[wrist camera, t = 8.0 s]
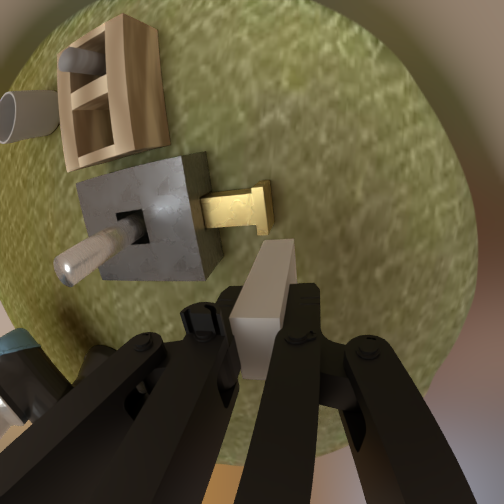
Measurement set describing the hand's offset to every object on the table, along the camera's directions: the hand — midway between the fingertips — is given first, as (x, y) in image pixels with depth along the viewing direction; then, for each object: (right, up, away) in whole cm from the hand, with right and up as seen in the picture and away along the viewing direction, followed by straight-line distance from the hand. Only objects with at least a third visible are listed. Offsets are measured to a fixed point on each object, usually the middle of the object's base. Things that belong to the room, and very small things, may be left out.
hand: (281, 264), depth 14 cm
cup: (-33, +21, +16) cm, 42 cm away
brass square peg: (-4, +6, +15) cm, 17 cm away
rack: (-16, +19, +13) cm, 28 cm away
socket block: (-12, +5, +18) cm, 22 cm away
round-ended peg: (-12, +5, +18) cm, 22 cm away
